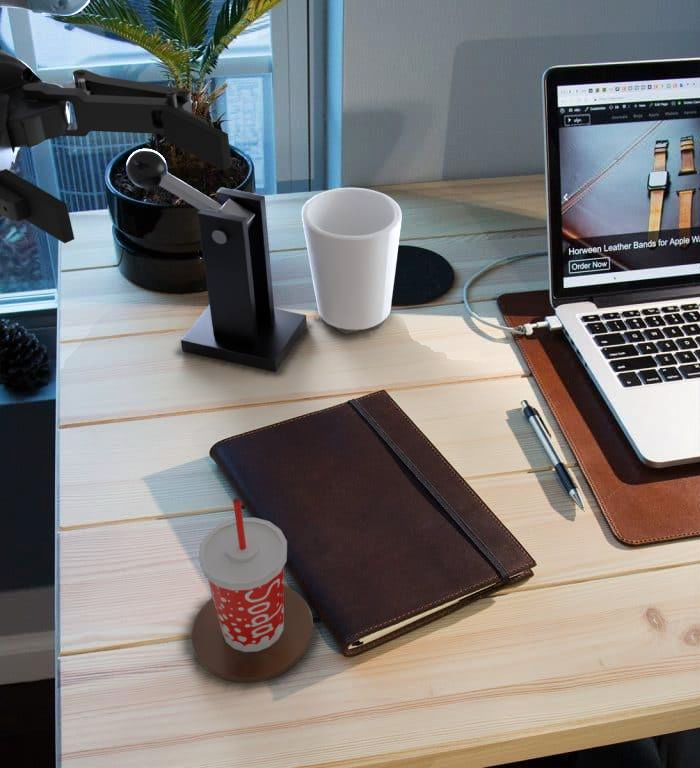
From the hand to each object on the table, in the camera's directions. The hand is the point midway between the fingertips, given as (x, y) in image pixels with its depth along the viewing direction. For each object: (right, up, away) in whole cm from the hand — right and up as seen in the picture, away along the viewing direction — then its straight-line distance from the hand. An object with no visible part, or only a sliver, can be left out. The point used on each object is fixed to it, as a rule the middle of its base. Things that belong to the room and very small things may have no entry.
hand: (151, 186), depth 72 cm
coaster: (+5, -33, +7) cm, 34 cm away
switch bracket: (-2, -9, +34) cm, 36 cm away
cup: (+8, -7, +39) cm, 40 cm away
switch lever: (-6, +3, +26) cm, 27 cm away
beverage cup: (+5, -32, +7) cm, 34 cm away
